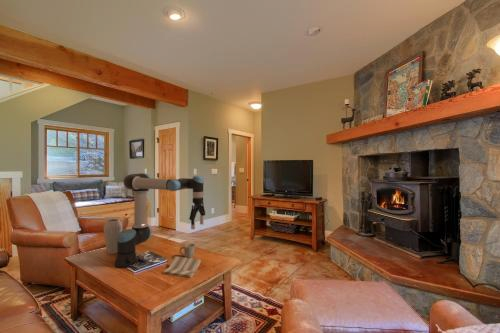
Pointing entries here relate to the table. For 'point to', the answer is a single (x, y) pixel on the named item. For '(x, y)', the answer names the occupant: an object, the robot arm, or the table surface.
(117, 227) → the vase
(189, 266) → the plank
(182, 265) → the plank
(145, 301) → the table surface
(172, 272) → the laid row
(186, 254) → the mug
